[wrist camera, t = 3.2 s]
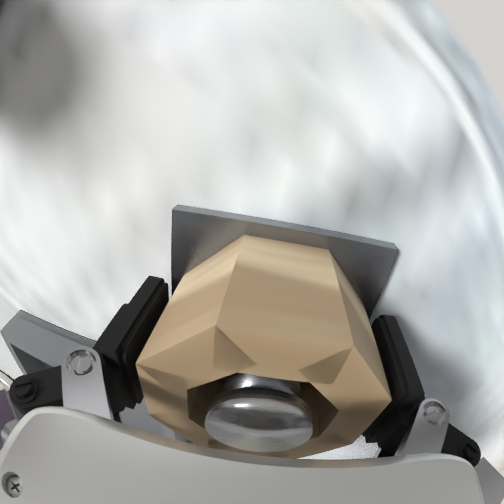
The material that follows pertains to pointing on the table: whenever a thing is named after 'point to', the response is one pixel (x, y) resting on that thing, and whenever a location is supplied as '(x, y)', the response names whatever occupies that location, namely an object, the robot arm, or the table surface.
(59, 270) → the table surface
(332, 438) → the maple ring
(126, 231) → the table surface
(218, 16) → the table surface
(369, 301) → the grey knobbed square plate
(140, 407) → the charcoal tray
